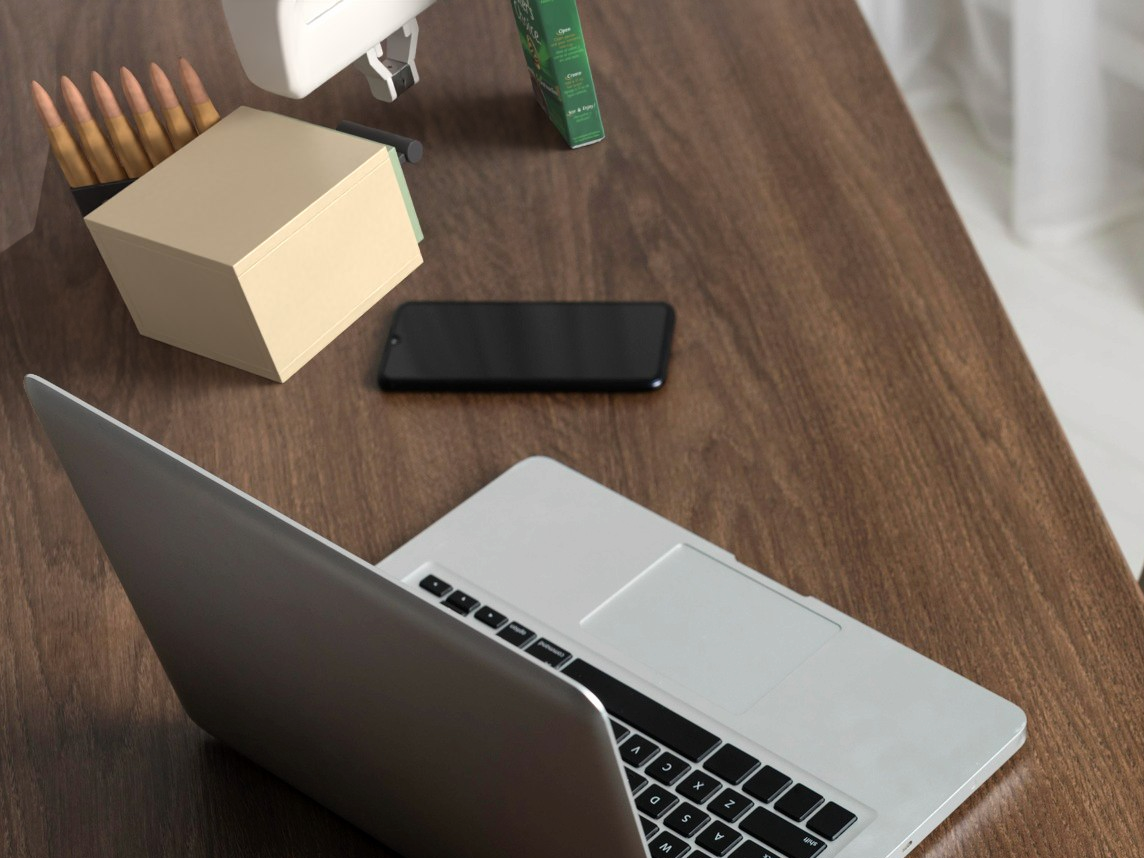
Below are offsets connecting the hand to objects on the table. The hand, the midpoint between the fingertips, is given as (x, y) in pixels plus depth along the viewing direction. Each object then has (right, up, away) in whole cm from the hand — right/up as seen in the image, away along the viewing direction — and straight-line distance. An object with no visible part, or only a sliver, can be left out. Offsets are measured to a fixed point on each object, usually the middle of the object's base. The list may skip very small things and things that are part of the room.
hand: (397, 90), depth 117 cm
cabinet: (-5, -16, -7) cm, 18 cm away
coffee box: (+10, 0, +7) cm, 12 cm away
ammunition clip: (-13, -11, -3) cm, 17 cm away
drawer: (-3, -12, -5) cm, 14 cm away
